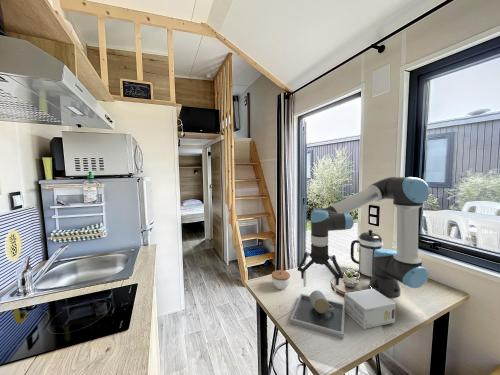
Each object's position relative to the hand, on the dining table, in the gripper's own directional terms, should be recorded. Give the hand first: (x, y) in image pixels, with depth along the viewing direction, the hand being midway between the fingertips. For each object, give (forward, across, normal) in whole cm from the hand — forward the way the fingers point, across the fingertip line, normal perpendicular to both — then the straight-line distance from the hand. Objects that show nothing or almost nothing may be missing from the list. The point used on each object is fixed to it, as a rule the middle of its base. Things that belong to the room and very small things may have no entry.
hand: (319, 288), depth 100 cm
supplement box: (+14, -21, -8) cm, 26 cm away
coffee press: (+14, -23, -54) cm, 60 cm away
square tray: (+13, 0, 0) cm, 13 cm away
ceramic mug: (+13, 0, 0) cm, 13 cm away
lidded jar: (+13, +24, -17) cm, 32 cm away
